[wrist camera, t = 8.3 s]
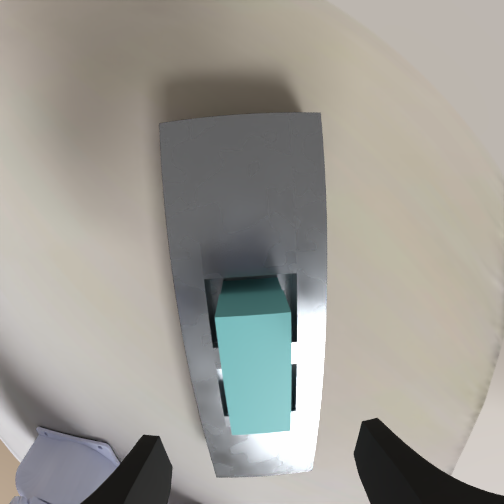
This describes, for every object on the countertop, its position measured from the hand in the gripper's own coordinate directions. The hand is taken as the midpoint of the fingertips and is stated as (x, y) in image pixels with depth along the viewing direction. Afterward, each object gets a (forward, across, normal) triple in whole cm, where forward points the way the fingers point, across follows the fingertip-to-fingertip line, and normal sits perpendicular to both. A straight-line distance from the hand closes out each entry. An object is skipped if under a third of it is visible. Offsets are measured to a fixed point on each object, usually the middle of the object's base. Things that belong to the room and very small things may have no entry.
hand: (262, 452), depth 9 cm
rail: (+10, 0, 0) cm, 10 cm away
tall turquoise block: (+9, 0, 0) cm, 9 cm away
